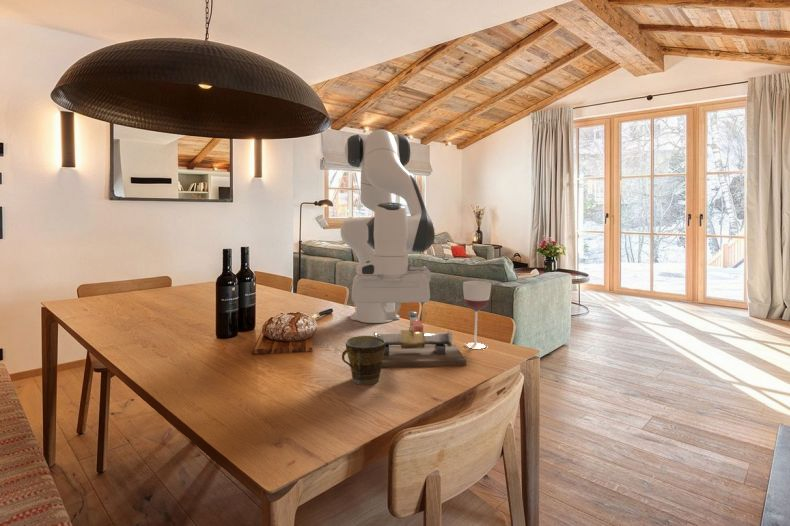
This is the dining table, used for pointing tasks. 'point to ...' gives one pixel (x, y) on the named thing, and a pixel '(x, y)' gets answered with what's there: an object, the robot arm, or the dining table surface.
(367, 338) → the ceramic cup
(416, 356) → the walnut board
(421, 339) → the pipe valve
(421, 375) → the dining table surface
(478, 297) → the wineglass
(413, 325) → the valve lever
